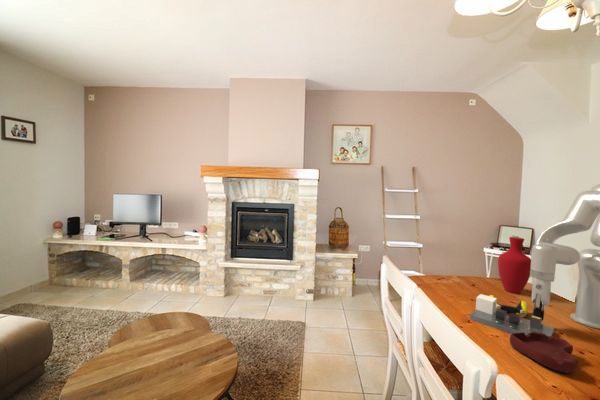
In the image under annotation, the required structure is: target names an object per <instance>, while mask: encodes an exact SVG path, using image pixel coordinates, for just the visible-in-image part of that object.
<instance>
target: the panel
mask: <svg viewBox="0 0 600 400" xmlns="http://www.w3.org/2000/svg"><path fill="white" fill-rule="evenodd" d="M520 316H521V315H518V314H515V313H510V314H508V313H507V311H505V310H501V309H497V310H496V311H495V312H494V313H493V314H488V313H485V312H482V311H479V310H476V309H475V310H474V311H473V312H471V313H470V314H469V320H471V321H474V322H477V323H480V324H482V325H486V326H489V327H491V328H495V329H498V330H500V331H503V332H505V333H509V334H510V335H511V334H512V333H525V335H528V334H529V333H530V332H539V333H543V334H545V335H546V336H553V335H554V333H555V327H553V326H550V325H546V324H544V323H541V328H540V329H539V328H536V327H533V326H530V319H527V318H525V317H520ZM553 337H554V336H553Z"/></svg>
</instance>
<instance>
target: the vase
mask: <svg viewBox="0 0 600 400" xmlns="http://www.w3.org/2000/svg"><path fill="white" fill-rule="evenodd" d="M524 241H525V238H523V237H517V236H509V244H510V247H509V250H507V251H505V252H502V253H501V254H500V255H499V256H498V258H497V266H498V273H499V278H500V281H501V283H502V286H503V289H504V291H506V292H507V293H511V294H518V295H519V294H521V293H522V291H523V290H524V288H525V287H526V285H527V284H528V281H529V279H530V278H531V277H530V269H531V258H530V257H529V256H528V255H526V254H525V253H524V252H523V250H522V247H523V245H524Z"/></svg>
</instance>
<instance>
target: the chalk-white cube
mask: <svg viewBox="0 0 600 400" xmlns="http://www.w3.org/2000/svg"><path fill="white" fill-rule="evenodd" d="M475 299H476V300H475V310H479V311H482V312H485V313H488V314H493V313H494V312H495V311H496V304H497V302H498V298H497V297H495V298H493V297H490V295H485V294H482V293H480V294H479V295H477V296H476V298H475Z"/></svg>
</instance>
